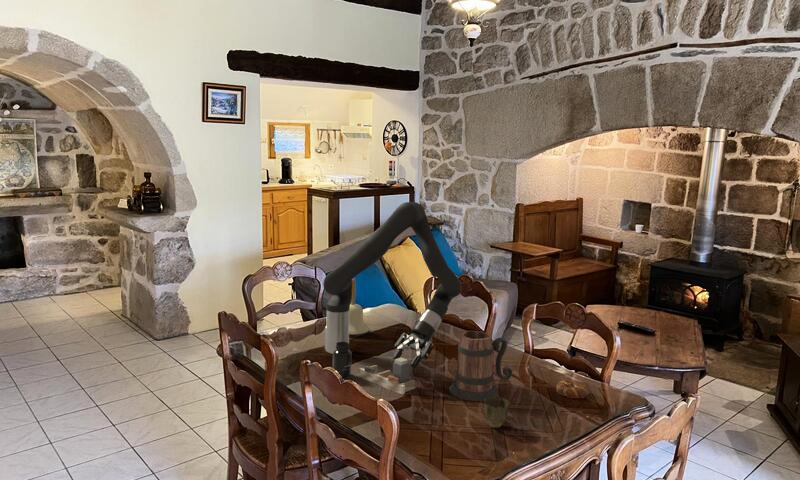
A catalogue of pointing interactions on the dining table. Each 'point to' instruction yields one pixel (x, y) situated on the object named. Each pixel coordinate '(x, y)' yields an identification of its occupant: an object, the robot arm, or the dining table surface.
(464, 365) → the tankard
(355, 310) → the handbell
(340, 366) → the supplement bottle
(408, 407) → the dining table surface
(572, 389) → the bread roll
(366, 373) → the dock
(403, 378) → the grey tall block
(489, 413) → the cup
